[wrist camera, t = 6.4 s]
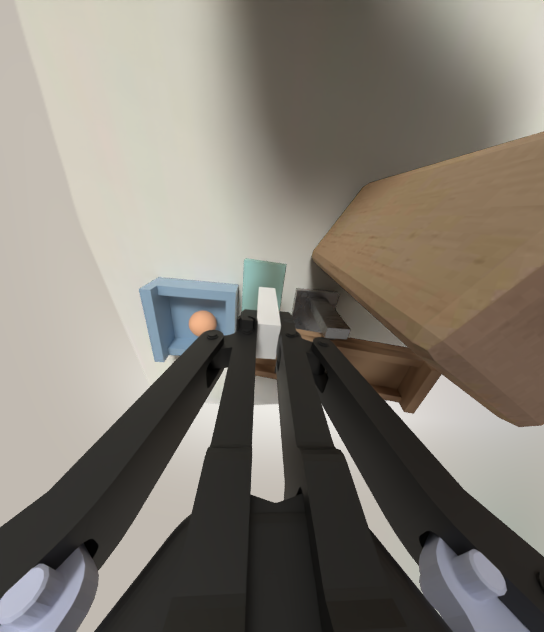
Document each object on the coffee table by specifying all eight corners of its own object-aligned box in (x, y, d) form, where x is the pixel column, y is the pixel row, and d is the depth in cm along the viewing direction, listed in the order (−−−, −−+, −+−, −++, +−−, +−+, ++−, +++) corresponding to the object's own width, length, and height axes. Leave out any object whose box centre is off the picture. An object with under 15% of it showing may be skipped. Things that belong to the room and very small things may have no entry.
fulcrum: (284, 350, 32) (292, 397, 24) (296, 288, 27) (311, 320, 18) (319, 352, 32) (339, 399, 24) (337, 291, 27) (369, 325, 19)
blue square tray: (158, 277, 25) (138, 289, 21) (238, 284, 26) (234, 297, 22) (169, 341, 30) (154, 361, 26) (236, 346, 31) (232, 365, 27)
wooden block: (358, 296, 28) (527, 441, 10) (306, 255, 25) (419, 360, 7) (417, 236, 24) (839, 296, 6) (365, 179, 21) (904, -3, 3)
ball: (216, 306, 27) (189, 305, 26) (216, 318, 24) (185, 318, 23) (217, 327, 29) (191, 328, 28) (216, 341, 26) (188, 342, 25)
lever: (241, 361, 25) (233, 380, 22) (246, 258, 19) (236, 265, 16) (397, 389, 24) (412, 415, 21) (458, 288, 18) (491, 303, 14)
